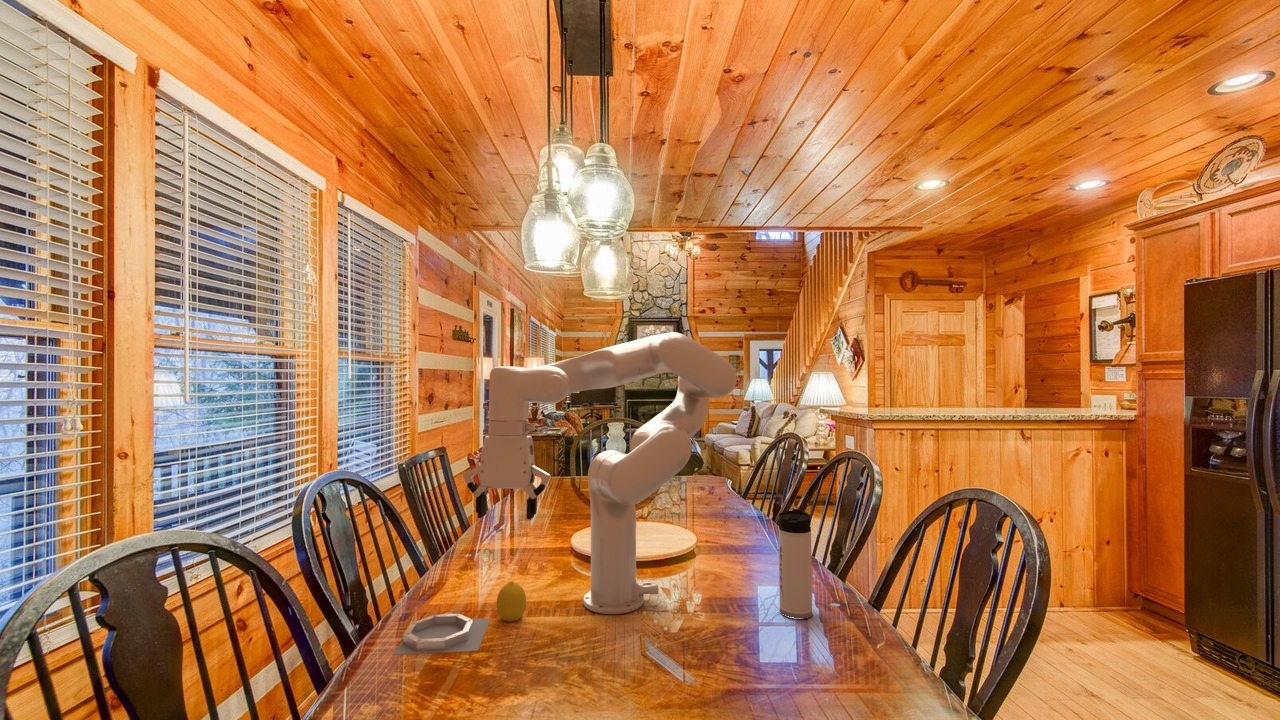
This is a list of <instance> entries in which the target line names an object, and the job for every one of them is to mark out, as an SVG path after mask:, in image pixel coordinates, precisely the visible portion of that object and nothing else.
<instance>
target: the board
mask: <svg viewBox="0 0 1280 720" xmlns="http://www.w3.org/2000/svg"><path fill="white" fill-rule="evenodd" d="M471 619H472V620H473V630H472V632H471V634H470V636H469V639H468V640H467V641H464V642H462V643H459V644H457V645H454V646H452V647H450V648H447V649H445V650H425V651H416V650H415V649H413V648H411V647H410V646H408V645H406V644H404V643H403V639H402V640H401V641H400V643H399V644H398V646H397V647H396V648H395V650H394V652H393V653H392V656H401V655H423V654H440V653H441V654H442V653H443V654H446V653H462V652H463V653H465V652H479V649H480V647H481V644H482V641H483V639H484V637H485V634H486V632H487V629H488V628H489V627H488V626H489V624H490V622H491V617H486V618H471ZM463 629H464V628H463V627H461V626H458V625H456V624H447V625H434V626H431V627H428V628H426V629H423V630H420V631H418V632H416V633H415V636H417V637H418V638H420V639H433V638H445V637H448V636H450V635H453V634H455V633H458V632H460V631H463Z"/></svg>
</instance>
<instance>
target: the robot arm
mask: <svg viewBox="0 0 1280 720" xmlns="http://www.w3.org/2000/svg"><path fill="white" fill-rule="evenodd" d="M665 373H673V374H675V375H676V376H677V392H676V396H675V398H674V400H673V401H672V403H670V404H669V405H668V406H667V407H666V408H665V409H664V410H662V411H661V412H660V413H658V414H657V415H655V416H654V417H653V418H651V419H650V420H648V421H647V422H646V423H644V424H643V425H642V426H640V427H639V428H638V429H637V430H635V432H634V433H633V435H632V437H631V440H630V452H628V453H625V452H622V451H619V450H615V449H614V450H611V449H608V450H604V451H602V452H600V453H598V454H597V455H596V456H594V458H593V459H592V461H591V462H590V464H589V467H588V471H587V472H588V473H587V485H588V487H587V488H588V494H589V501H590V590H589V591H588V592H586V593H585V595H584V596H583V599H582V600H583V601H582V603H583V606H584V607H585V608H586V609H587V610H589V611H591V612H594V613H597V614H604V615H620V614H621V615H622V614H626V613H631V612H633V611H636V610H639V608H641V607H642V606H643V604H644V601H645V600H644V598H645V597H644V595H659V592H660V591H659V584H652V581H644V582H643V581H642V582H641V581H640V580H638V577H637V576H638V575H637V512H636V511H637V509H636V504H639V503H641V502H643V501H645V500H646V499H647V498H648V497H650V496H651V495H652V494H653V493H655V492H656V491H657V490H659V489H660V488H661V487H663V485H665V484H666V483H667V482H669V481H670V480H671V479H672V478H674V477H675V476H676V475H677V474H679V473H680V472H681V471H682V470H683V469H684V468H685V466H686V465H687V464H688V462H689V460H690V458H691V455H692V450H693V448H692V447H693V444H692V440H691V438H692V437H694V436H695V435H696V434H697V433H698V432H699V431H700V430H701V428H703V426H704V425H705V422H706V420H707V417H708V412H709V407H710V406H709V405H710V404H709V403H710V398H712V399H713V398H714V399H719V398H724V397H726V396H728V395H729V394H730V393H731V392H733V390H734V389H735V387H736V384H737V373H736V370H735V368H734V366H733V365H732V363H730V362H729V361H728V360H727V359H725V358H724V357H723V356H721V355H719V354H718V353H716V352H714V351H713V350H711V349H709V348H707V346H704V345H703V344H701V343H700V342H699V341H698V342H697V340H694V339H693V338H691V337H690V336H687V335H685V334H683V333H680V332H675V331H674V332H673V331H672V332H671V331H670V332H666V333H660V334H655V335H650V336H647V337H643V338H638V339H636V340H635V339H634V340H631V341H628V342H623V343H621V344H616V345H612V346H608V347H604V348H602V349H601V348H600V349H597V350H594V351H592V352H589V353H585V354H582V355H579V356H575V357H572V358H571V357H570V358H568V359H564V360H559V361H556V362H552V363H549V364H545V365H541V366H535V367H530V368H529V367H528V368H525V367H522V366H495V367H493V368H492V369H491V370H490V372H489V387H488V388H489V390H488V391H489V392H488V430H487V431H488V435H485V436H484V438H483V439H484V441H483V443H482V444H483V445H482V449H481V454H480V464H479V465H478V466H476V467H474V468H472V469H469V470H468V471H466V472H464V473H463V474H462V477H463V479H464V481H465V483H466V487H467V488H468V490H469V491H471V493H472V494H473V496H474V497H475V513H477V519H482V518H483V517H485V516H486V515H487V511H488V509H487V508H488V507H487V506H488V505H487V503H488V496H487V494H486V491H488V489H508V490H509V489H511V490H517V489H518V490H519V489H523V490H524V492H525V493H526V494H527V495H528V498H527V499H526V517H525V518H526V520H527V521H531V520H532V519H533V518H534V516H536V514H537V512H538V511H537V510H538V506H537V505H538V496H539V495H541V493H542V492H543V491H544V490H545V489H546V488H547V486H548V484H549V482H550V480H551V478H552V475H551V474H550V473H548V472H546V471H545V470H543V469H541V468H539V467H537V466H536V465H535V461H536V460H535V448H534V441H533V437H532V436H531V435H528V434H529V433H530V432H534V431H535V429H536V425H535V424H534V423H530V421H529V402H531V403H539V404H545V405H546V404H547V405H554V404H558V403H559V402H561V401H563V400H564V399H565V398H566V397H567V396H568V395H570V394H575V393H579V392H583V391H588V390H600V389H601V390H603V389H610V388H615V387H619V386H623V385H626V384H629V383H633V382H636V381H640V380H643V379H647V378H650V377H653V376H658V375H661V374H665ZM476 475H478V476H479V477H478V479H479V485H478V483H477V482H476V481H475V479H474V476H476ZM536 477H538V478H539V479H541V480H540V483H539V485H538V486H537V487H536V486H535V485H534V483H535V481H536Z"/></svg>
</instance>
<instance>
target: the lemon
mask: <svg viewBox="0 0 1280 720" xmlns="http://www.w3.org/2000/svg"><path fill="white" fill-rule="evenodd" d="M526 608H527V597H526V591H525V590H524V588H523V587H522V586H521V584H518V583H516V582H515V581H509V582H508V583H507V584H505V585H504V586H502V587H501V588H500V590H499V592H498V595H497V599H496V611H497V613H498V615H499V618H500V619H502V620H503V621H505V622H507V623H509V622H511V623H512V622H516V621H518V620H520V619H521V618H522V616H523V615H524V614H525V611H526Z"/></svg>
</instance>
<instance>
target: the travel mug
mask: <svg viewBox="0 0 1280 720" xmlns="http://www.w3.org/2000/svg"><path fill="white" fill-rule="evenodd" d="M811 522H812V516H811V515H810V514H809V513H808V512H805V511H802V509H799V508H793V509H792V510H784V511H782V512H779V514H778V577H779V578H778V579H779V580H778V581H779V582H778V586H779V587H778V590H779V592H778V593H779V595H778V596H779V597H778V598H779V613H780V612H781V613H782V614H784V615H786V616H789V617H794V618H807V617H810V616H811V615H812V616H813V596H812V595H813V594H812V593H813V589H812V588H813V585H812V583H813V582H812V581H813V575H812V574H813V573H812V528H811V526H812V525H811V524H812V523H811ZM781 613H780V614H781ZM782 614H781V615H782ZM812 616H811V617H812ZM811 617H810V618H811Z"/></svg>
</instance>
